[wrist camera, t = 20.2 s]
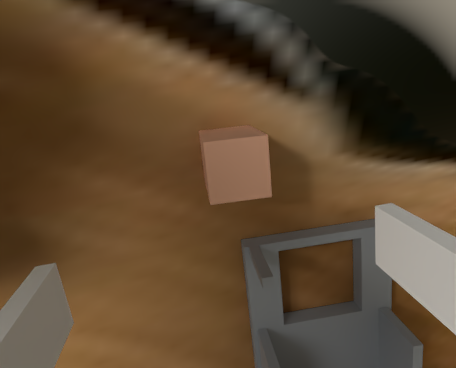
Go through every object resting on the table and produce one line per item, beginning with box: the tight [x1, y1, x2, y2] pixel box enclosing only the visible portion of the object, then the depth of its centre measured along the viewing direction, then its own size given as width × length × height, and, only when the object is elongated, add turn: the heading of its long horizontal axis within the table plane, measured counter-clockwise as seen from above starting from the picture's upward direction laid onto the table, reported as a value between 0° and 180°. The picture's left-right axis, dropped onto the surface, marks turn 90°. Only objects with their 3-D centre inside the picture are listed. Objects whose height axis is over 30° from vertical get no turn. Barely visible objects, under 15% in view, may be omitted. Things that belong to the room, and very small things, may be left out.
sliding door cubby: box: [241, 219, 423, 368], centre depth 37 cm, size 21×16×8 cm
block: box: [199, 125, 272, 205], centre depth 31 cm, size 5×5×8 cm
